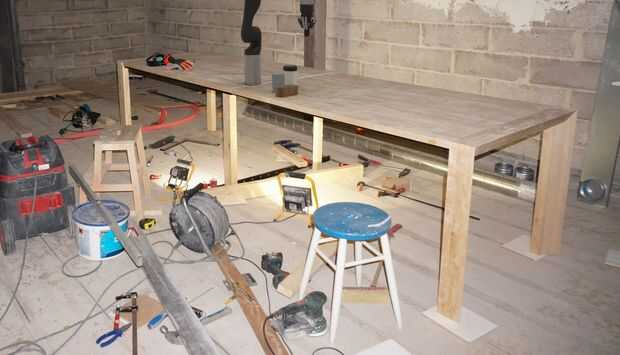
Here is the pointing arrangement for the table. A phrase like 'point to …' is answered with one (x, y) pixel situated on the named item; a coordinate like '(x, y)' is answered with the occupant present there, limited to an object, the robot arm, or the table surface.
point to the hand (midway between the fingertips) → (306, 36)
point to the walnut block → (286, 90)
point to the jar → (290, 74)
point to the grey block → (278, 80)
